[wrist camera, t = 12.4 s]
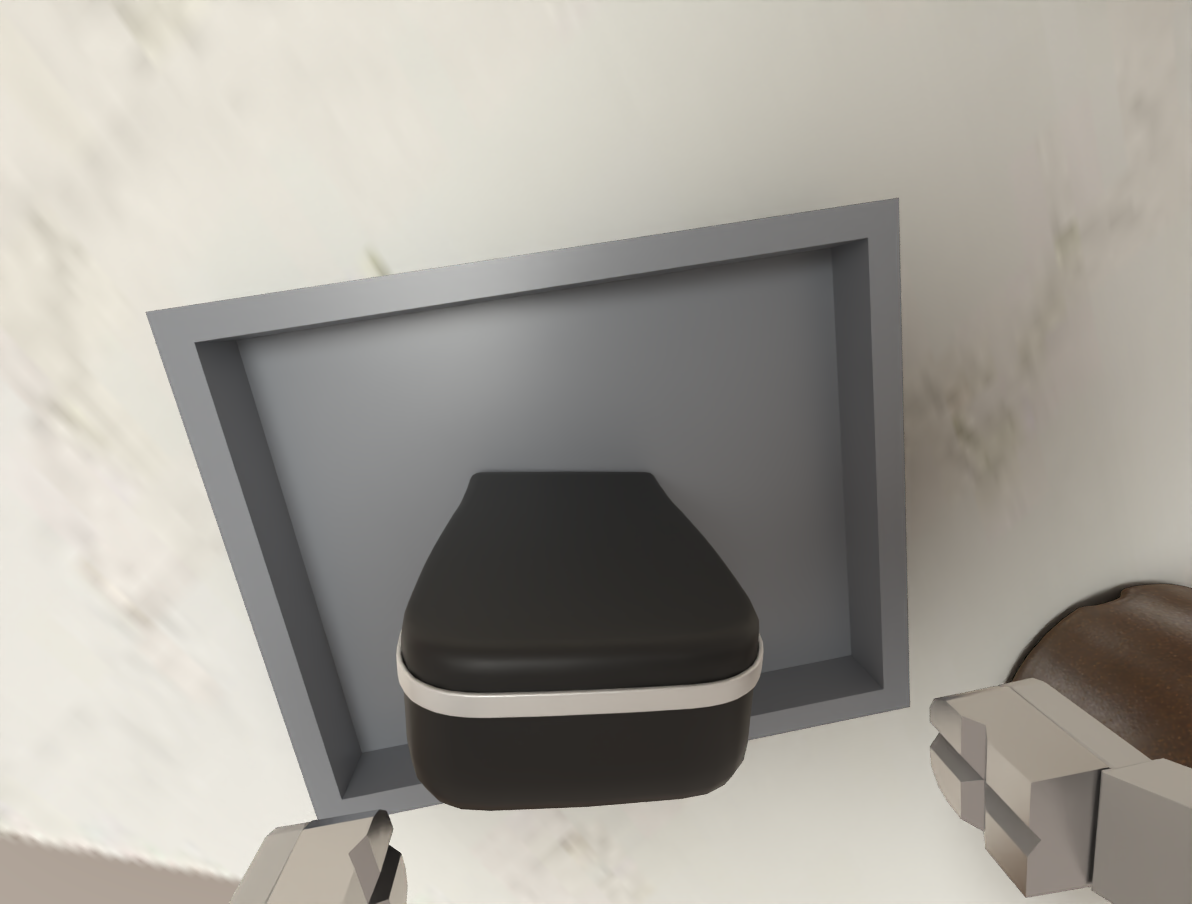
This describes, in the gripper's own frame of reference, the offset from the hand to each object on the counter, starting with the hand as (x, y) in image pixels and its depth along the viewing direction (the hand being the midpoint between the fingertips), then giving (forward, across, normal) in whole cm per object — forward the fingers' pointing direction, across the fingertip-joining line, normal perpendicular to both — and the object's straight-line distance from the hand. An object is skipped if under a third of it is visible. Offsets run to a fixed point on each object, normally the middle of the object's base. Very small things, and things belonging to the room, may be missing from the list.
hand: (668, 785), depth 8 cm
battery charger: (+13, +1, 0) cm, 13 cm away
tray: (+13, +1, 0) cm, 13 cm away
